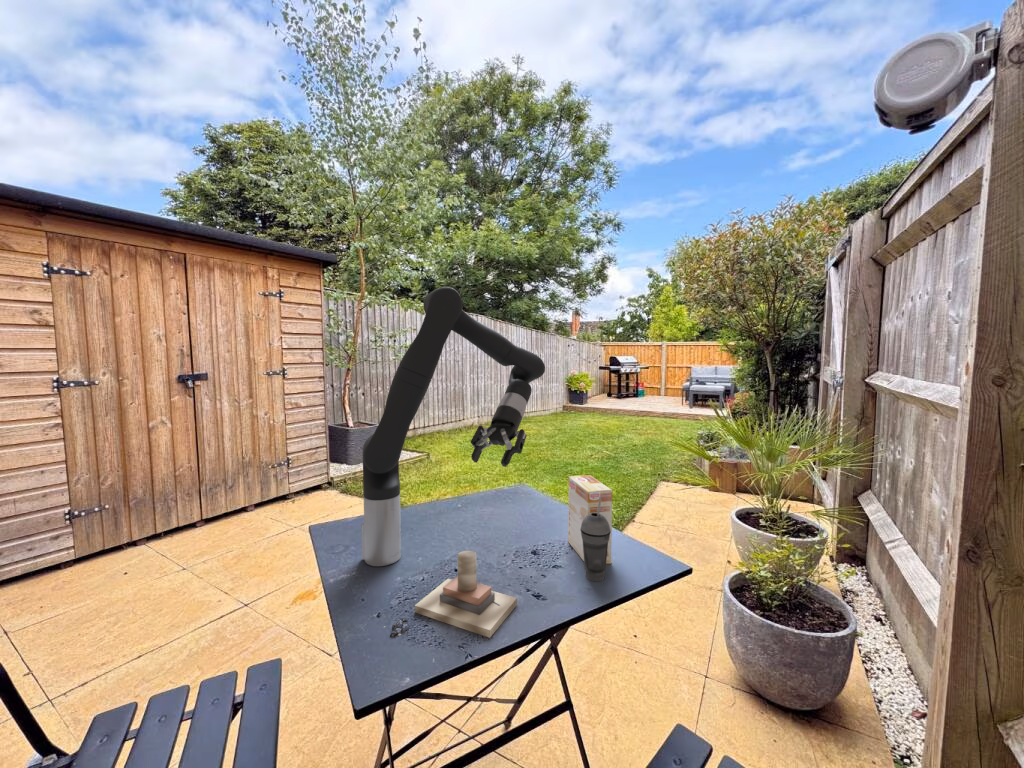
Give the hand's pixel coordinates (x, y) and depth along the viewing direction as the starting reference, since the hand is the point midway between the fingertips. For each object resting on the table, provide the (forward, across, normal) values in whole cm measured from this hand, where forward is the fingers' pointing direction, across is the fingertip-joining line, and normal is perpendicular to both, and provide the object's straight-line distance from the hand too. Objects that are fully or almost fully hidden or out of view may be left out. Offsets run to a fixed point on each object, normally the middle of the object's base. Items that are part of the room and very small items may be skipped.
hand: (488, 462), depth 105 cm
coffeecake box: (+5, +20, +33) cm, 39 cm away
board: (+32, +5, +6) cm, 33 cm away
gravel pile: (+40, -4, -1) cm, 40 cm away
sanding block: (+30, +5, +6) cm, 31 cm away
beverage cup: (+14, +26, +24) cm, 38 cm away
